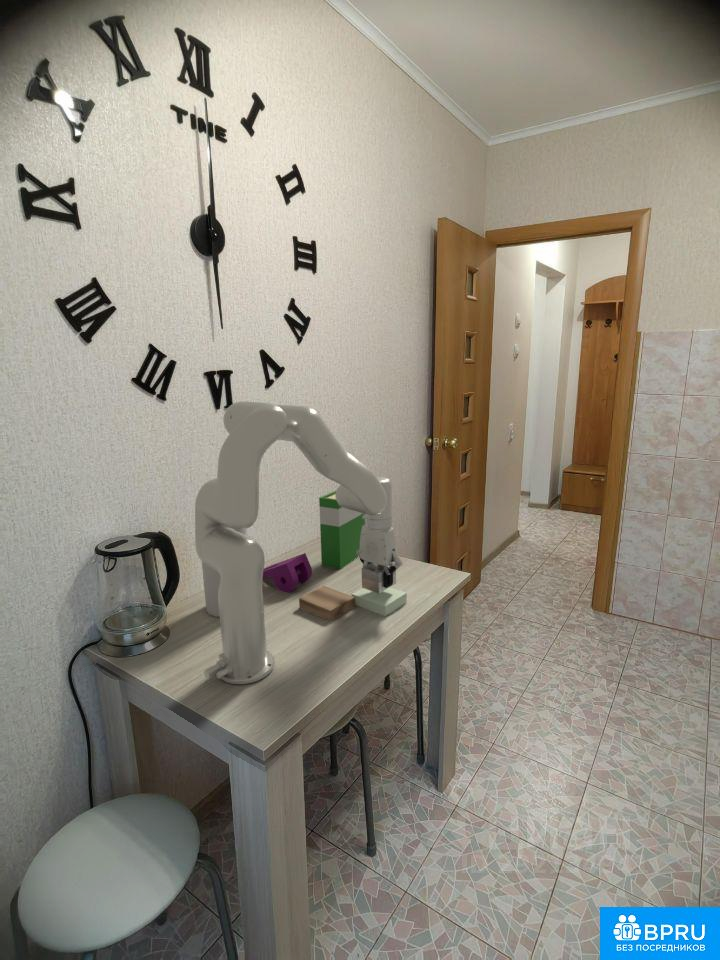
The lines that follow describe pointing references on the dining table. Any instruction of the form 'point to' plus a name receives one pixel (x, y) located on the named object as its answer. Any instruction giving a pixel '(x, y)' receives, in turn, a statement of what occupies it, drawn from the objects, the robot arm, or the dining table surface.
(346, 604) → the stand
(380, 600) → the stand
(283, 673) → the dining table surface
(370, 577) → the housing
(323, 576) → the dining table surface
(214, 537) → the robot arm
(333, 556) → the hardback book
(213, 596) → the cylinder vase
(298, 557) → the mounting bracket
